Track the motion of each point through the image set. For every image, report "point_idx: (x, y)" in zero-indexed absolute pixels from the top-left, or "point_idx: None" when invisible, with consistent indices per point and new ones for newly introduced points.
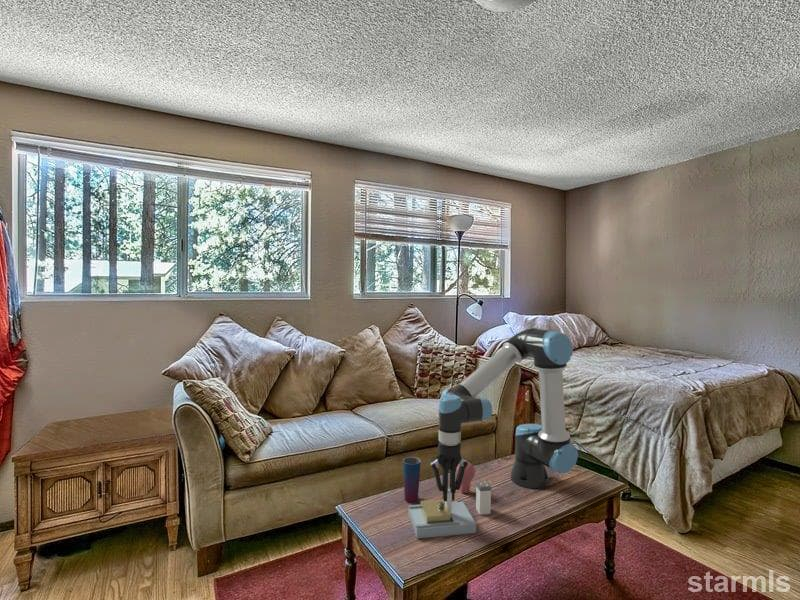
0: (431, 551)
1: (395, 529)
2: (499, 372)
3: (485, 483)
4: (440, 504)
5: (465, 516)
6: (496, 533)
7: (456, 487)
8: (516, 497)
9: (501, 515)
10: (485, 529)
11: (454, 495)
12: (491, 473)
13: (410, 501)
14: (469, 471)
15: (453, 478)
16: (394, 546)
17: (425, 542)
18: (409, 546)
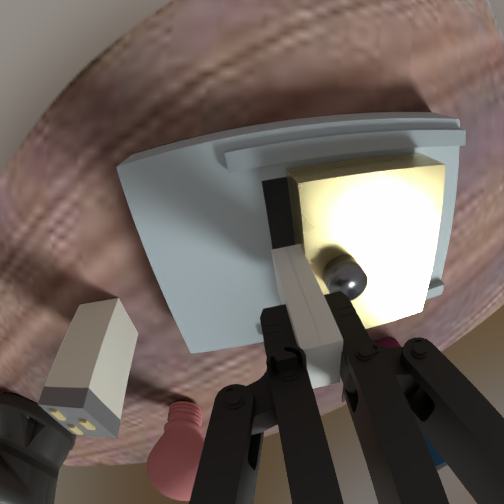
0: (383, 14)
1: (478, 182)
2: None
3: (70, 424)
4: (357, 274)
5: (179, 238)
6: (44, 167)
7: (255, 405)
8: (34, 374)
9: (43, 295)
10: (87, 191)
11: (264, 340)
12: (121, 445)
13: (389, 341)
14: (164, 473)
15: (316, 495)
16: (491, 84)
17: (403, 78)
18: (456, 69)
